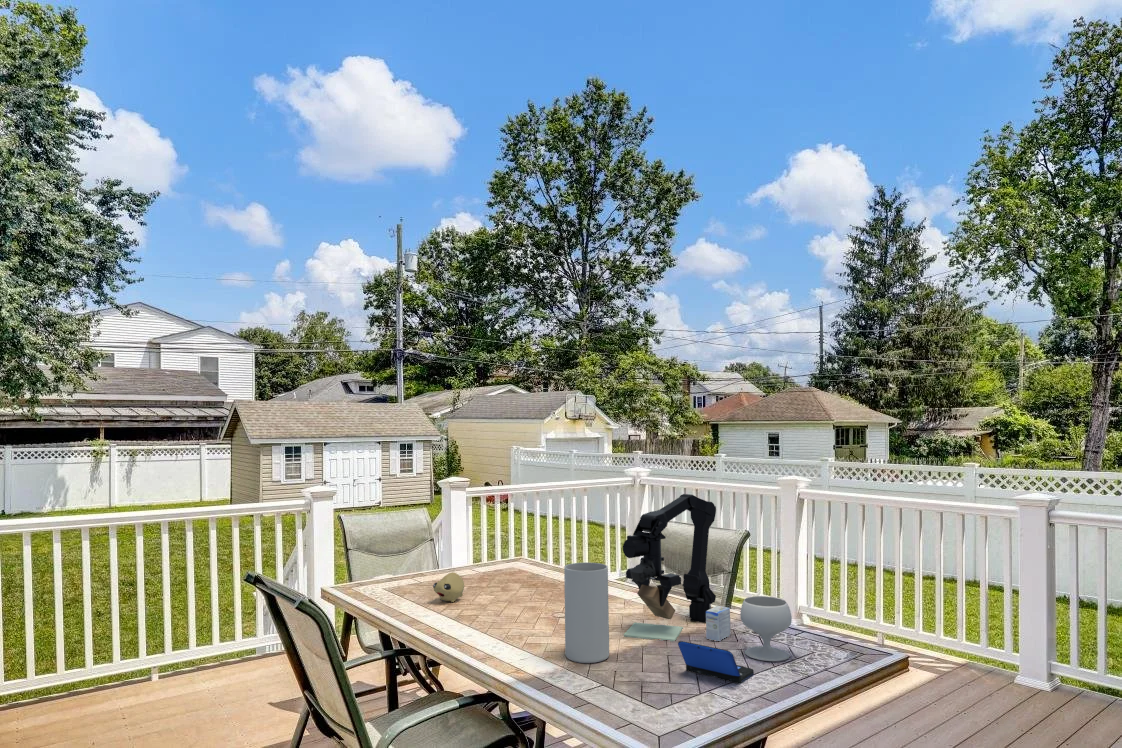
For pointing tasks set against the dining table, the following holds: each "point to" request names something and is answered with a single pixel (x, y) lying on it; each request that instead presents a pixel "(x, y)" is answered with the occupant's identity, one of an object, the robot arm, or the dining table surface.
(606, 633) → the cylinder vase
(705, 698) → the dining table surface
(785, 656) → the chalice
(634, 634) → the mat
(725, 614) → the medicine box
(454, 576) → the olive toy creature
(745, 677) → the handheld game console
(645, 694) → the dining table surface
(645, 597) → the walnut slab
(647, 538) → the robot arm
